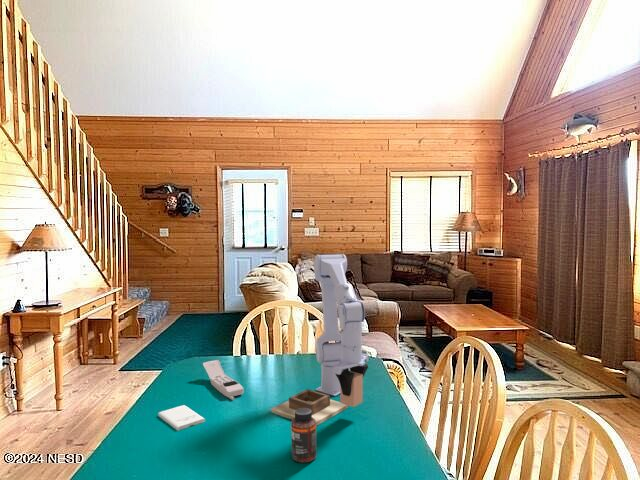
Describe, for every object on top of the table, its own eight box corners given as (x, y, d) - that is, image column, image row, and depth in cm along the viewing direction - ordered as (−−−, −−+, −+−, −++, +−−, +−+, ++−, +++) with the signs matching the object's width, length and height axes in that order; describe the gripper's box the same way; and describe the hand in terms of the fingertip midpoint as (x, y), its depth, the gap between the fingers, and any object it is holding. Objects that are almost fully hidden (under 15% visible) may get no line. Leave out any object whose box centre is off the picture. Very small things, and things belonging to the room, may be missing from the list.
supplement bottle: (316, 450, 118) (315, 405, 117) (317, 463, 112) (316, 416, 111) (291, 451, 118) (291, 405, 117) (291, 464, 112) (290, 416, 111)
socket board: (306, 395, 153) (306, 382, 152) (347, 407, 143) (347, 394, 143) (270, 412, 140) (270, 398, 140) (313, 427, 130) (313, 412, 130)
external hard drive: (185, 409, 144) (205, 423, 134) (158, 417, 138) (177, 432, 129) (184, 404, 144) (205, 417, 134) (158, 412, 138) (177, 426, 129)
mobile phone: (217, 359, 172) (247, 379, 151) (218, 375, 172) (247, 397, 151) (201, 362, 169) (229, 383, 148) (202, 379, 169) (229, 402, 148)
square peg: (349, 398, 139) (349, 370, 139) (362, 401, 137) (362, 374, 136) (340, 403, 136) (340, 375, 135) (353, 407, 133) (353, 378, 133)
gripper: (348, 353, 127) (348, 404, 128) (377, 341, 138) (377, 387, 139) (327, 348, 131) (327, 397, 132) (356, 337, 143) (356, 382, 144)
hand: (351, 392), depth 136 cm, fingers closed on square peg, 4 cm apart
